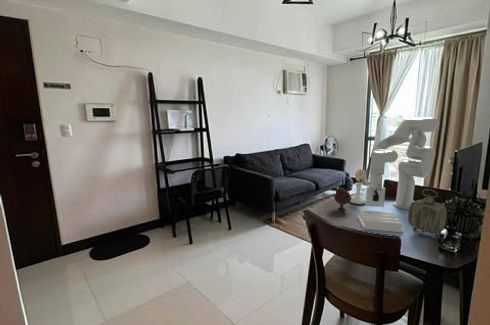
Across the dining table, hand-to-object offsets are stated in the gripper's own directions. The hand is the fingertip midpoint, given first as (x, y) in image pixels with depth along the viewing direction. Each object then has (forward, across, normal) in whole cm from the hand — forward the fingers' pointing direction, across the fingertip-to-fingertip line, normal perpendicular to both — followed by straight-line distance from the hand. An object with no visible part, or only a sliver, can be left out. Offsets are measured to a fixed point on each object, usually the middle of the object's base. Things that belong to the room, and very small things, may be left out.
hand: (374, 199), depth 162 cm
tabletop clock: (+10, +25, +18) cm, 32 cm away
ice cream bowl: (+9, -3, -19) cm, 21 cm away
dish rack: (+9, +16, -1) cm, 18 cm away
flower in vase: (+10, -19, -6) cm, 23 cm away
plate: (+4, 0, 0) cm, 4 cm away
